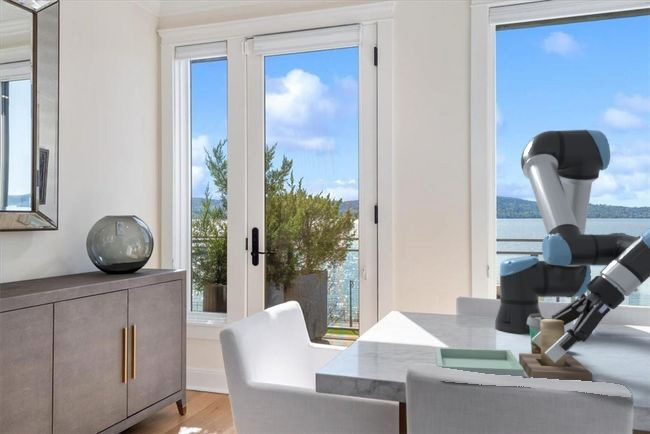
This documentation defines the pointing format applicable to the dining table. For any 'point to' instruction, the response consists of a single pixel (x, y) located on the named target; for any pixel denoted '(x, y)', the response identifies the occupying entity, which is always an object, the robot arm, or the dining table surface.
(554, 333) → the dowel
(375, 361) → the dining table surface
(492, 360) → the tray
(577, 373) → the dowel block
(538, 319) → the food container
